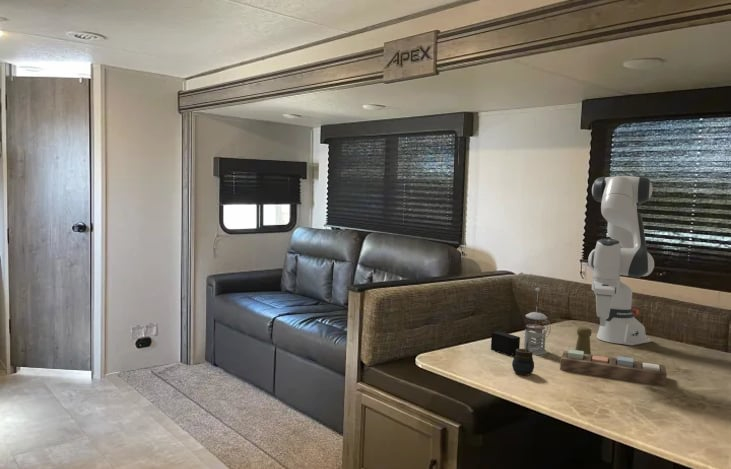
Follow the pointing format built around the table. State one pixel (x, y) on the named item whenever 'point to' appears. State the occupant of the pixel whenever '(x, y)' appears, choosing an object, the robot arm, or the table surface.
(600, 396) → the table surface
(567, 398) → the table surface
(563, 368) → the key frame
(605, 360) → the terracotta key
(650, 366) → the cream key
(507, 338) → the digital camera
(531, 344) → the french press
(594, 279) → the robot arm
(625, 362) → the slate key
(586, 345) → the cork
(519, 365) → the mate gourd
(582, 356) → the sage key
